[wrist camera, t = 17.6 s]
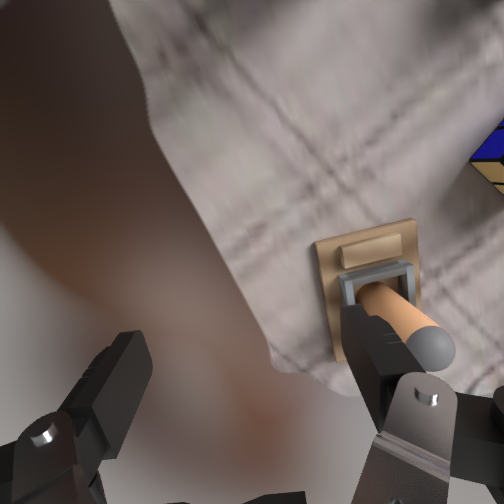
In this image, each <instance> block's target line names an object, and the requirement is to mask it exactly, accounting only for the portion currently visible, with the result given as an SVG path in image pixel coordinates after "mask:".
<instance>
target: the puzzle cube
mask: <svg viewBox="0 0 504 504" xmlns="http://www.w3.org/2000/svg"><path fill="white" fill-rule="evenodd" d="M470 163H471V164H472V165H473V166H474V167H475V168H477V169H478V170H479V171H480V172H481V173H482V174H483V175H484V176H485V177H486V178H487V179H488V180H489V181H490V182H493V185H494V186H495V187H496V188H497V189H498V190H499V191H500V192H502V193H503V194H504V120H503V121H502V123H501V124H500V125H499V126H498V130H495V131H494V132H493V133H492V134H491V135H490V137H489V138H488V139H487V140H486V141H485V142H484V144H483V145H482V146H481V147H480V148H479V149H478V151H477V152H476V153H475V154H474V155H473V156H472V158H471V159H470Z"/></svg>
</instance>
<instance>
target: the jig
mask: <svg viewBox="0 0 504 504" xmlns="http://www.w3.org/2000/svg"><path fill="white" fill-rule="evenodd" d="M314 244H315V250H316V256H317V262H318V267H319V273H320V279H321V285H322V290H323V296H324V302H325V308H326V314H327V319H328V325H329V331H330V337H331V342H332V348H333V354H334V359H335V361H336V362H337V363H340V362H344V361H347V360H346V357H345V355H344V352H343V348H342V343H341V328H340V307H341V306H346V305H354V304H357V299H356V298H357V294H358V291H359V290H360V288H361V287H362V286H363V285H365V284H367V283H371V282H375V281H380V282H383V283H384V284H386V285H387V286H388V287H390V288H391V289H392V290H393V291H395V292H396V293H397V294H399V295H400V296H401V297H403V298H404V299H405V300H406V301H408V302H409V303H410V304H412V305H413V306H414V307H416V308H417V309H418V310H419V311H421V312H422V308H421V290H420V273H419V255H418V238H417V220H416V219H413V218H409V219H405V220H401V221H397V222H393V223H389V224H385V225H381V226H377V227H373V228H369V229H365V230H361V231H357V232H353V233H348V234H344V235H340V236H336V237H332V238H328V239H324V240H320V241H316V242H314Z"/></svg>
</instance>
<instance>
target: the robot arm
mask: <svg viewBox="0 0 504 504" xmlns="http://www.w3.org/2000/svg"><path fill="white" fill-rule="evenodd" d="M340 328H341V343H342V348H343V352H344V355H345V357H346V360H347V362H348V364H349V366H350V369H351V371H352V373H353V376H354V378H355V380H356V383H357V385H358V387H359V390H360V392H361V394H362V397H363V399H364V401H365V404H366V406H367V408H368V410H369V412H370V415H371V417H372V420H373V422H374V424H375V427H376V429H377V431H378V433H379V434H380V435H378V434H377V435H376V436H375V438H374V440H373V442H372V445H371V448H370V451H369V453H368V456H367V459H366V462H365V465H364V468H363V470H362V473H361V476H360V479H359V482H358V485H357V487H356V490H355V493H354V496H353V499H352V502H351V504H447V497H448V488H449V480H450V476H451V477H456V478H460V479H464V480H468V481H472V482H476V483H481V484H484V485H486V487H487V488H488V490H489V492H490V493H491V495H492V496H493V498H494V500H495V501H496V503H497V504H504V386H501V387H499V388H497V389H496V390H495V392H494V394H493V398H488V397H481V396H475V395H468V394H463V393H458V392H455V391H454V390H453V389H452V388H451V387H450V386H449V385H448V384H447V383H446V382H444V381H443V380H441V379H440V378H438V377H436V376H433V375H431V374H427V373H426V372H425V370H424V369H423V368H422V366H421V365H420V364H419V362H418V361H417V359H416V358H415V357H414V355H413V354H412V353H411V351H410V350H409V349H408V347H407V346H406V345H405V343H404V342H402V339H401V338H400V337H399V335H398V334H396V331H395V330H394V329H393V327H392V326H391V325H390V323H389V322H387V321H386V320H384V319H383V318H381V317H379V316H378V315H373V316H369V315H368V314H367V312H366V311H365V309H364V308H363V306H362V305H361V304H354V305H346V306H341V307H340ZM152 368H153V366H152V359H151V356H150V353H149V350H148V347H147V344H146V342H145V339H144V336H143V333H142V332H141V331H140V330H135V331H127V332H120V333H119V334H118V335H117V337H116V338H115V340H114V341H113V343H112V344H111V346H108V347H106V348H105V349H104V350H103V351H102V352H100V353H99V354H98V355H97V356H96V357H95V358H94V359H93V361H92V362H91V364H90V365H89V367H88V369H87V370H86V371H85V372H84V373H83V375H82V378H80V379H79V381H78V382H77V383H76V385H75V386H74V388H73V389H72V390H71V392H70V393H69V395H68V396H67V397H66V399H65V400H64V402H63V403H62V404H61V406H60V407H59V409H58V410H57V411H55V412H51V413H49V414H46V415H44V416H42V417H40V418H39V419H37V420H36V421H34V422H33V423H32V424H30V425H29V426H28V427H27V428H26V429H25V430H24V431H23V432H22V433H21V435H20V436H19V437H18V439H17V440H16V441H14V442H11V443H8V444H6V445H3V446H0V504H107V501H106V497H105V492H104V488H103V484H102V480H101V476H100V473H99V471H98V467H99V465H100V463H101V461H102V460H107V459H116V458H117V456H118V453H119V451H120V449H121V446H122V444H123V441H124V439H125V437H126V434H127V432H128V430H129V427H130V425H131V423H132V420H133V418H134V415H135V413H136V411H137V408H138V406H139V404H140V401H141V399H142V396H143V394H144V392H145V389H146V387H147V385H148V382H149V380H150V377H151V375H152ZM168 504H189V503H185V502H179V503H168ZM243 504H307V503H306V497H305V491H300V492H289V493H278V494H268V495H263V496H260V497H258V498H256V499H253V500H251V501H248V502H246V503H243Z"/></svg>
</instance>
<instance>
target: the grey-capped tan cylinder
mask: <svg viewBox="0 0 504 504" xmlns="http://www.w3.org/2000/svg"><path fill="white" fill-rule="evenodd" d="M356 299H357V304H361V305H362V306H363V308H364V309H365V311H366V312H367V314H368V315H369V316H373V315H378V316H379V317H381V318H383V319H384V320H386V321H387V322H389V323H390V325H391V326H392V327H393V329H394V330H395V331H396V334H398V335H399V337H400V338H401V339H402V342H404V343H405V345H406V346H407V347H408V349H409V350H410V351H411V353H412V354H413V355H414V357H415V358H416V359H417V361H418V362H419V364H420V365H421V366H422V368H423V369H424V370H425V371H429V372H435V371H440V370H443V369H445V368H447V367H448V366H449V365H450V364H451V363H452V362H453V360H454V357H455V352H456V350H455V344H454V341H453V339H452V338H451V336H450V335H449V334H448V333H447V332H446V331H445V330H444V329H443V328H442V327H440V326H439V325H438V324H436V323H435V322H434V321H432V320H431V319H430V318H429V317H427V316H426V315H425V314H423V313H422V312H421V311H419V310H418V309H417V308H416V307H414V306H413V305H412V304H410V303H409V302H408V301H406V300H405V299H404V298H403V297H401V296H400V295H399V294H397V293H396V292H395V291H393V290H392V289H391V288H390V287H388V286H387V285H386V284H384V283H383V282H380V281H375V282H371V283H367V284H365V285H363V286H362V287H361V288H360V290H359V291H358V294H357V298H356Z"/></svg>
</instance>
